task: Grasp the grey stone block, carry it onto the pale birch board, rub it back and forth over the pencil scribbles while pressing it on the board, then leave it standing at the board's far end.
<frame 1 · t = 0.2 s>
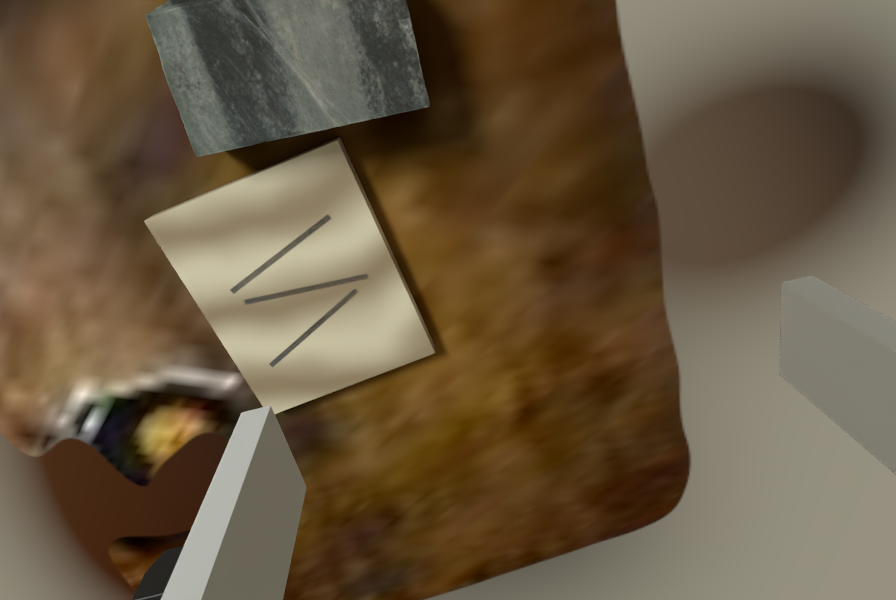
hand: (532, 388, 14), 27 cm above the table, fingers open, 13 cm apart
stone block: (303, 50, 36), on the table
board: (303, 283, 42), on the table
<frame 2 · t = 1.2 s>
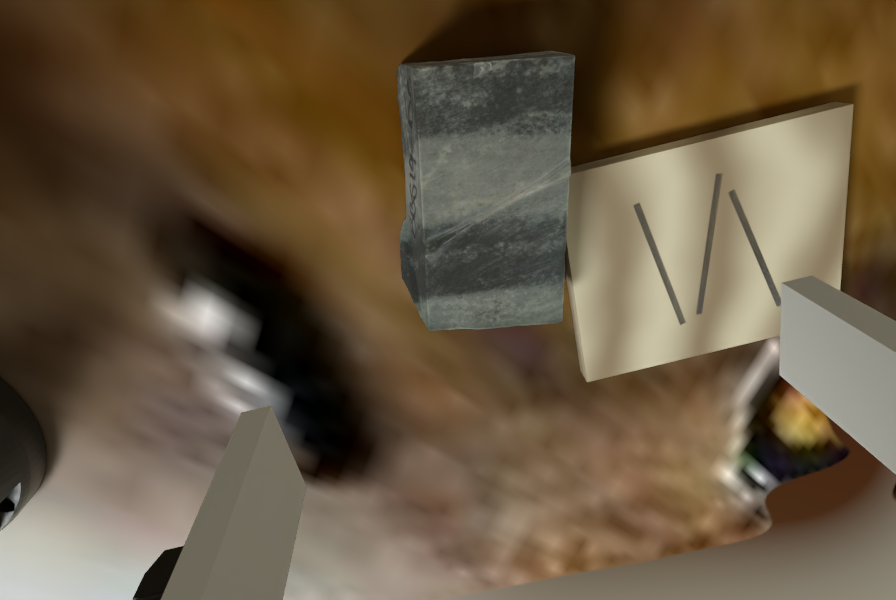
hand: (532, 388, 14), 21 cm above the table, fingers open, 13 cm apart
stone block: (470, 186, 34), on the table
board: (696, 247, 36), on the table
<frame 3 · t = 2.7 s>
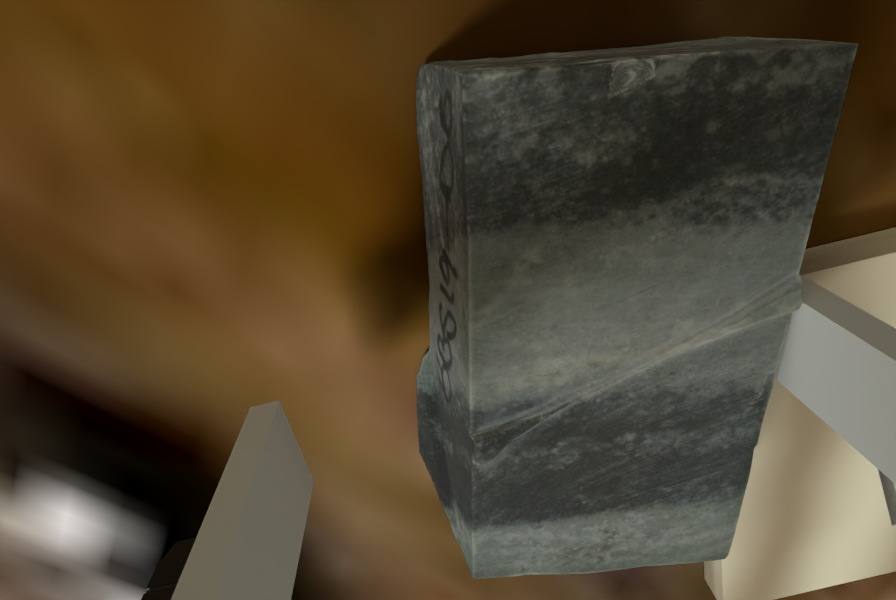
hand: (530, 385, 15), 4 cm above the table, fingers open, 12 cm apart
stone block: (547, 289, 18), on the table, touching gripper
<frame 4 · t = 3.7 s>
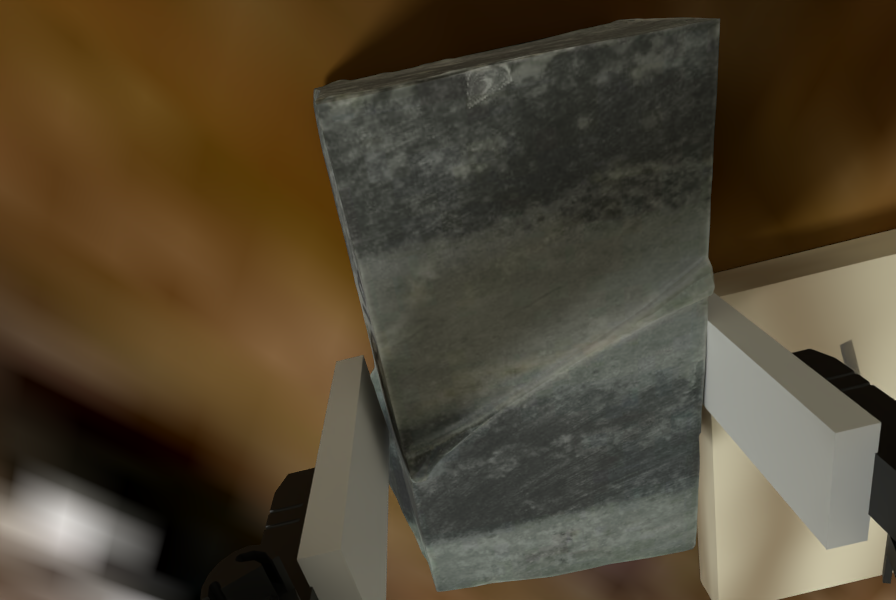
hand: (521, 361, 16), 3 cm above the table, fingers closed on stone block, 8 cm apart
stone block: (488, 294, 18), on the table, touching gripper
when the fingers open (4 cm above the table, at t = 8.4 s): stone block moves 7 cm, resting on board.
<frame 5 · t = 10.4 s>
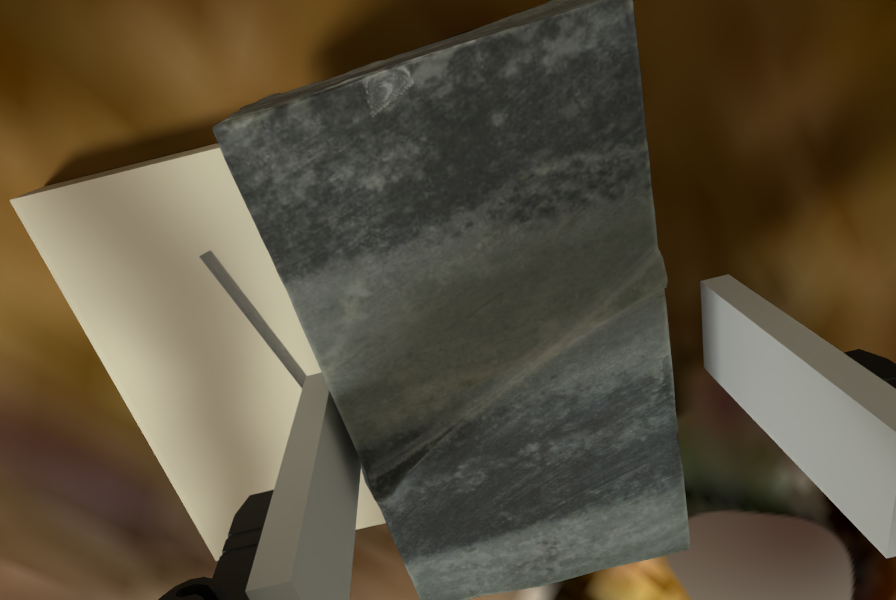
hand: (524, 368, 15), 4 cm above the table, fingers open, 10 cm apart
stone block: (456, 297, 17), point 1 cm above the table, touching board, gripper
board: (389, 327, 19), on the table
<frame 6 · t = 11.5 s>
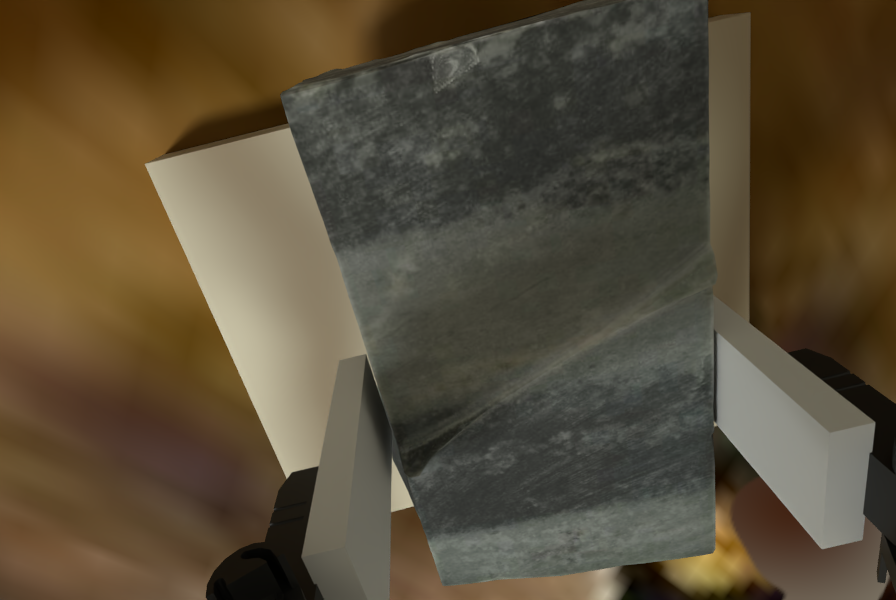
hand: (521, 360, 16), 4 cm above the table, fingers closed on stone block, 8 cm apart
stone block: (496, 284, 17), point 2 cm above the table, touching gripper
board: (489, 293, 20), on the table
when the fingers open (4 cm above the table, at t = 12.5 s): stone block stays where it is, resting on board.
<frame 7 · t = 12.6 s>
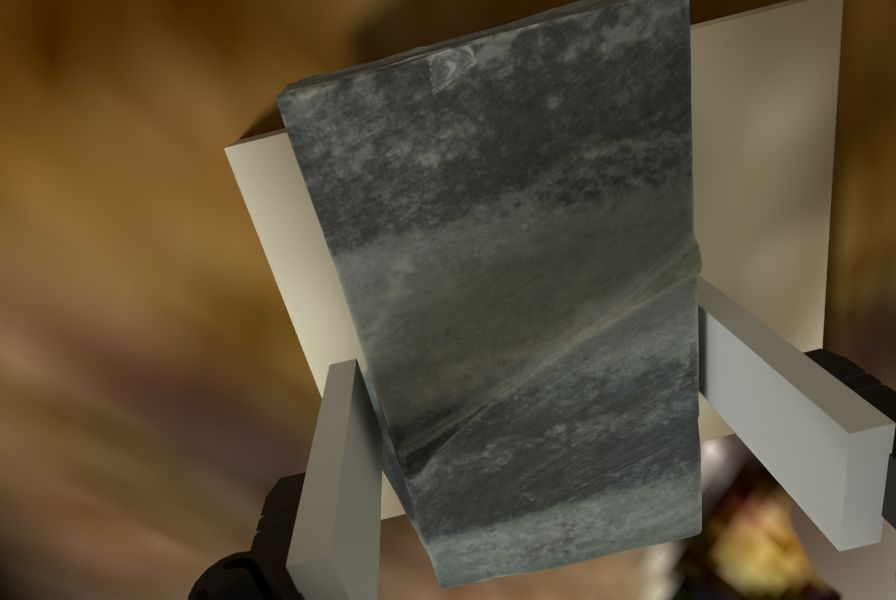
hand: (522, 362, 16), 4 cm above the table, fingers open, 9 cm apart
stone block: (478, 285, 18), point 1 cm above the table, touching board, gripper
board: (555, 283, 19), on the table
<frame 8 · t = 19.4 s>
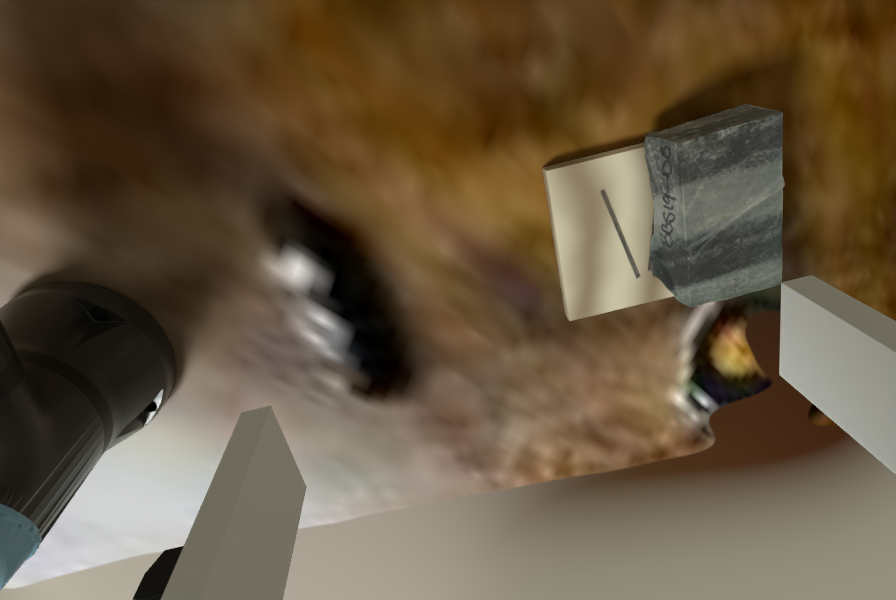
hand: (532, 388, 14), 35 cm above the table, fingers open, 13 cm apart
stone block: (693, 203, 48), point 1 cm above the table, touching board
board: (648, 222, 50), on the table
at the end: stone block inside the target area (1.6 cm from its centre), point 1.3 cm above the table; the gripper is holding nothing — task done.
